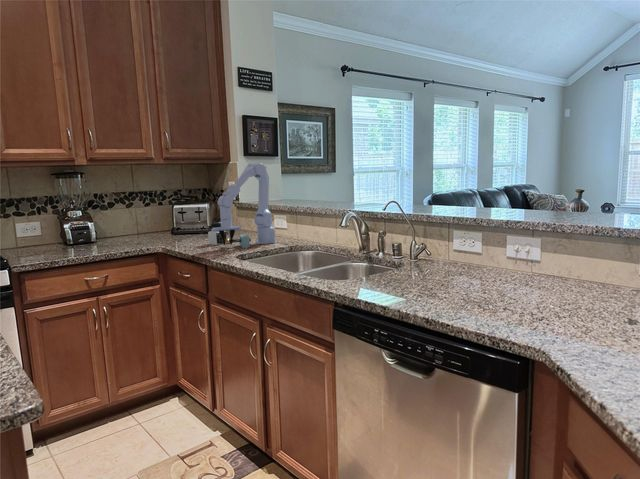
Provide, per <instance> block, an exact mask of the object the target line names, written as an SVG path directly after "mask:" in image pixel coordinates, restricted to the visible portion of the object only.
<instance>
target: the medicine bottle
mask: <svg viewBox="0 0 640 479" xmlns="http://www.w3.org/2000/svg"><path fill="white" fill-rule="evenodd" d="M217 227H221V221H220V222H218V221H217V222H212V223H211V224H210V231H208V232H207V233H208V234H207V236H208V245H211V246H219V245H224V242H223V239H222V237H221V235H220V233H219V231H218V232H213V228H217ZM224 234H225V239H226V238H227V231H224ZM225 245H227V244H226V242H225Z"/></svg>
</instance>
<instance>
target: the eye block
mask: <svg viewBox="0 0 640 479" xmlns="http://www.w3.org/2000/svg"><path fill="white" fill-rule="evenodd" d="M249 238H250V236H249V235H248V233H246V234H239V239H241V242H239V245H240V248H242V249H247V248H248V247H250V242H249Z"/></svg>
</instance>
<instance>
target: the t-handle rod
mask: <svg viewBox="0 0 640 479" xmlns="http://www.w3.org/2000/svg"><path fill="white" fill-rule="evenodd" d="M225 242H226V244H225V245H227V246H229V245H230V238H228V237H226V239H225ZM240 242H241V239H240V238H233V239H232V244H233V243H234V244H235V243H236V244H237V243H240ZM251 242H252V239H251V238H250V237H249V243H251Z"/></svg>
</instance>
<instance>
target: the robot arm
mask: <svg viewBox="0 0 640 479" xmlns="http://www.w3.org/2000/svg"><path fill="white" fill-rule="evenodd" d="M252 177H254V178H255V179H257V181H258V205H257V206H258V209H257V211H256V212H255V217H254V218H253V220H254V224H255V225H256V229H257V230H256V231H257V233H256V234H257V240H256V244H258V245H263V244H276V234H275V231H276V230H275V226H272V224H273V217H272V212H271V211H270V210H269V200H270V199H269V197H270V196H269V193H270V190H269V188H270V187H269V186H270V176H269V174H268V171H267V167H266V165H265V164H264V163H262V162H250V163H248V164H247V166H246V167H244V170H243V171H242V173H241V175H240V176H239V177H238V179H237V180H236V181H235V183H231V185H230V184H229V185H228V188H227V190H226V191H225V192H222V195H220V196H219V197H218V198H217V201H216V202H217V206H219V214H220V215H219V216H220V223H221V227H217V228H213V232H218V231H219V233H220V235H221V237H222V239H223V242H224V244H223V245H224V246H226V244H225V234H224V231H226V232H229V240H230V244H229V245H231V246H232V245H233V243H232V239H234V236H235V233H236V231H242V226H241V225H240V226H239V225H236V226H235V225H234V226H233V218H232V216H233V215H232V206H233V204H234V200H235V198H237V196H239V193H240V192H241V188H242V186H243V185H244V184H245V183H246V182H247V181H248V179H249V178H252Z"/></svg>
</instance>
